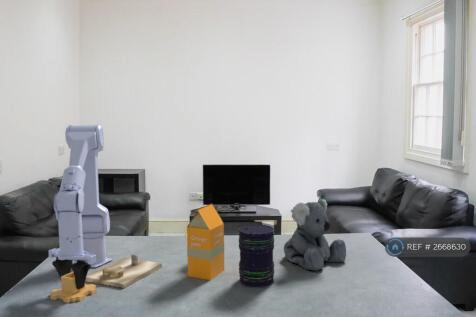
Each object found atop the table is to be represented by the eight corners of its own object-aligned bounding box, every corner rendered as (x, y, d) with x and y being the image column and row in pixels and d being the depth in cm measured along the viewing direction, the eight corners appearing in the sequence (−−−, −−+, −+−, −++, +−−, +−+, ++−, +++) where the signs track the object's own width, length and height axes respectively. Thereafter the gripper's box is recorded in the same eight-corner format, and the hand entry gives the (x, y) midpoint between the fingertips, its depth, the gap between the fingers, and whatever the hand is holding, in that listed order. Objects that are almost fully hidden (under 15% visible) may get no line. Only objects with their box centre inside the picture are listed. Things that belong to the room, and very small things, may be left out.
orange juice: (224, 270, 135) (224, 204, 133) (210, 280, 127) (209, 210, 125) (202, 266, 139) (200, 202, 137) (187, 276, 131) (185, 208, 129)
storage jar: (278, 276, 129) (278, 225, 128) (269, 289, 120) (269, 235, 119) (245, 273, 133) (244, 223, 131) (234, 285, 123) (233, 232, 122)
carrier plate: (84, 280, 128) (83, 266, 127) (124, 261, 144) (124, 248, 144) (123, 288, 122) (123, 273, 122) (161, 267, 138) (161, 253, 138)
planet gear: (44, 297, 117) (43, 279, 116) (73, 284, 126) (72, 266, 125) (74, 304, 112) (73, 284, 112) (101, 289, 121) (101, 271, 121)
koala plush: (315, 274, 131) (315, 208, 129) (270, 259, 145) (270, 199, 142) (350, 261, 142) (351, 200, 140) (306, 248, 156) (306, 192, 154)
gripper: (38, 237, 117) (41, 287, 118) (81, 243, 111) (83, 296, 112) (59, 230, 123) (61, 278, 125) (100, 236, 117) (103, 286, 119)
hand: (73, 286), depth 119 cm, fingers closed on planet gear, 4 cm apart
